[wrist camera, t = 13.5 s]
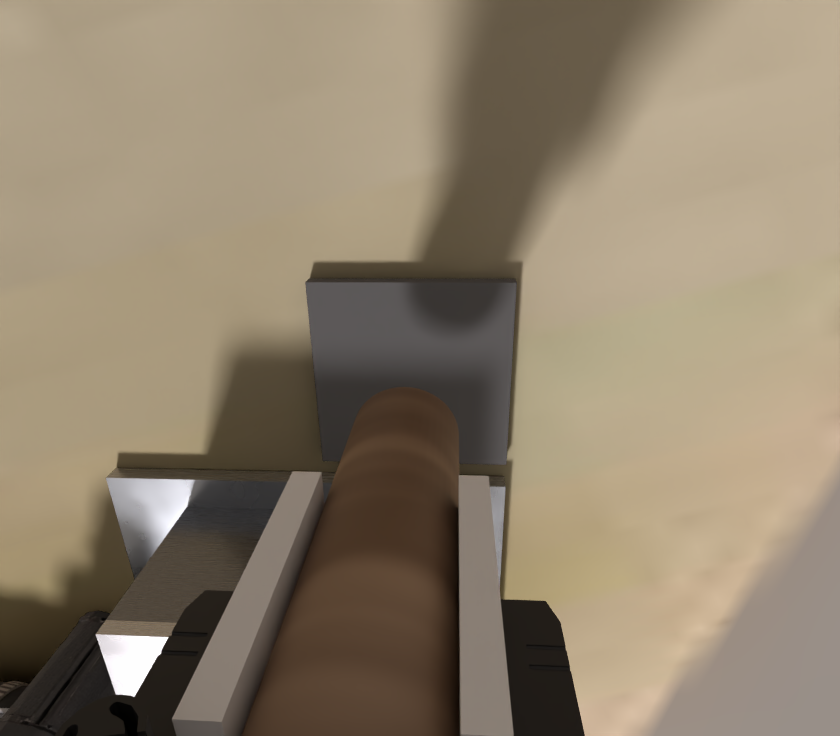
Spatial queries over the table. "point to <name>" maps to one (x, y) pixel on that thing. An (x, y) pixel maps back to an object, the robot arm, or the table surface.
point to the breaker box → (192, 550)
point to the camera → (58, 684)
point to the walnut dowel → (376, 587)
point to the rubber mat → (415, 353)
